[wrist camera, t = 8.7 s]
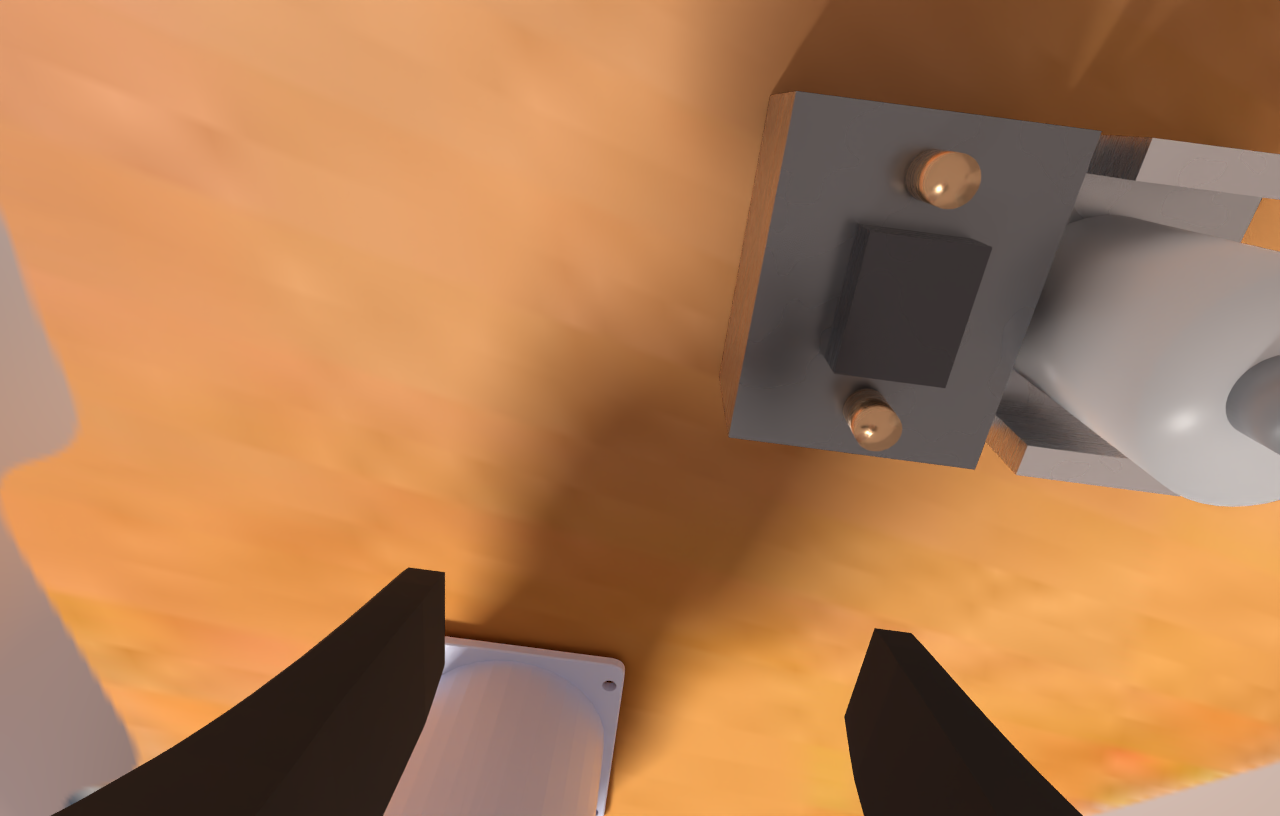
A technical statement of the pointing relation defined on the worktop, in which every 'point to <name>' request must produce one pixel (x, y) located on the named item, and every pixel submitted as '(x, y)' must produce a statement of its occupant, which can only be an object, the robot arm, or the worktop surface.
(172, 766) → the robot arm
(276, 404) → the worktop surface
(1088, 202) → the grey tray
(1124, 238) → the white cylinder
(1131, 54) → the worktop surface
